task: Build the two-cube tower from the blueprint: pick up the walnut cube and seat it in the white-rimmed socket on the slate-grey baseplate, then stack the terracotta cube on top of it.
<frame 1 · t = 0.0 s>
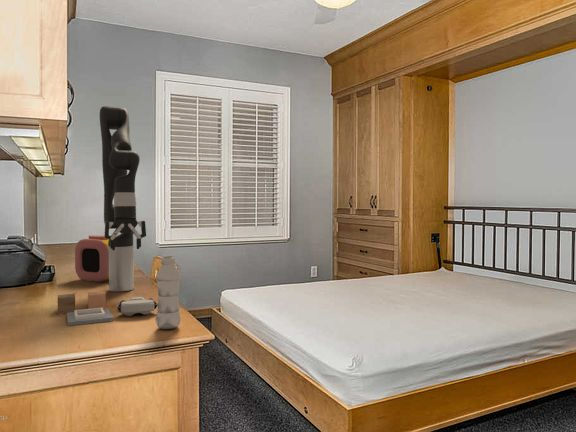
hand: (125, 249, 170), 17 cm above the table, tool pointing down, fingers open, 8 cm apart
plastic bottle: (168, 329, 129), on the table
baseplate: (89, 318, 139), on the table
robot toy: (137, 313, 147), on the table
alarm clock: (99, 280, 204), on the table
terracotta cube: (96, 308, 152), on the table
walnut cube: (66, 311, 148), on the table
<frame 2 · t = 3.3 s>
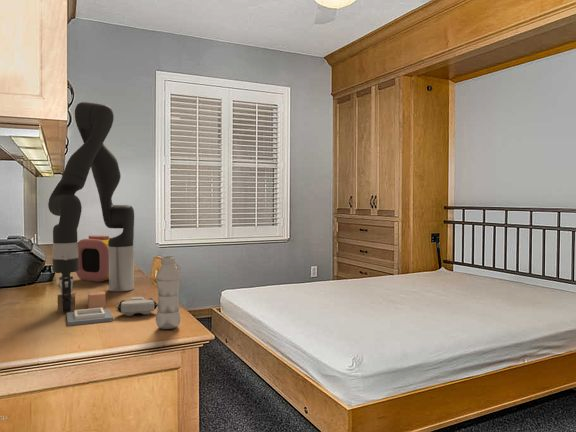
hand: (66, 309, 148), 0 cm above the table, tool pointing down, fingers closed on walnut cube, 5 cm apart
walnut cube: (66, 311, 148), on the table, touching gripper
everything else where it was.
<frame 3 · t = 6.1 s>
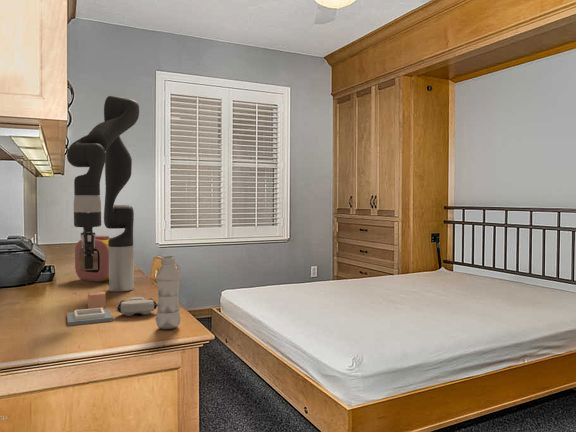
hand: (88, 267, 139), 15 cm above the table, tool pointing down, fingers closed on walnut cube, 5 cm apart
walnut cube: (88, 269, 139), point 15 cm above the table, touching gripper
everything else where it was.
when the fingers open (3 cm above the table, at t = 8.9 s): walnut cube drops 1 cm, resting on baseplate.
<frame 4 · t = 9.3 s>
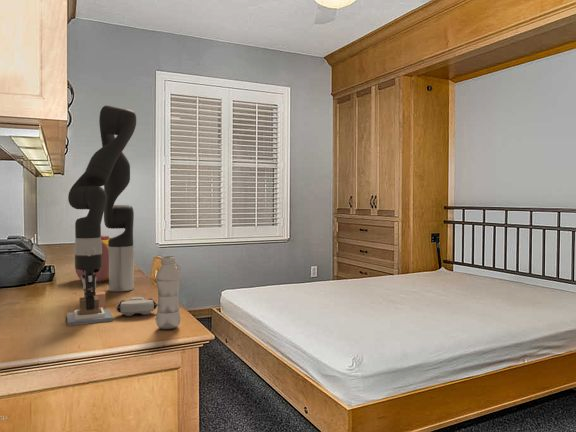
hand: (89, 306, 139), 4 cm above the table, tool pointing down, fingers open, 8 cm apart
walnut cube: (89, 315, 139), point 1 cm above the table, touching baseplate
everything else where it was.
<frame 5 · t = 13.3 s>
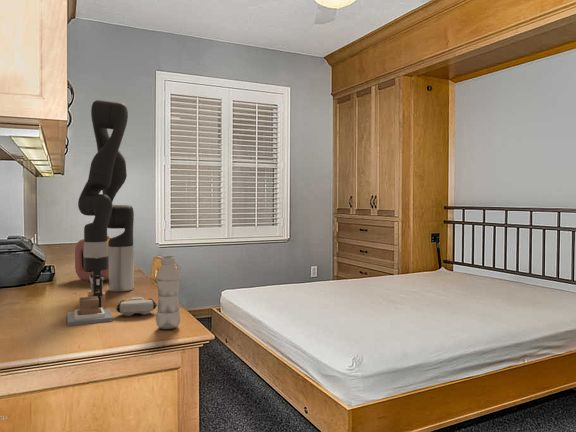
hand: (96, 306, 152), 0 cm above the table, tool pointing down, fingers closed on terracotta cube, 5 cm apart
terracotta cube: (96, 308, 152), on the table, touching gripper
everything else where it was.
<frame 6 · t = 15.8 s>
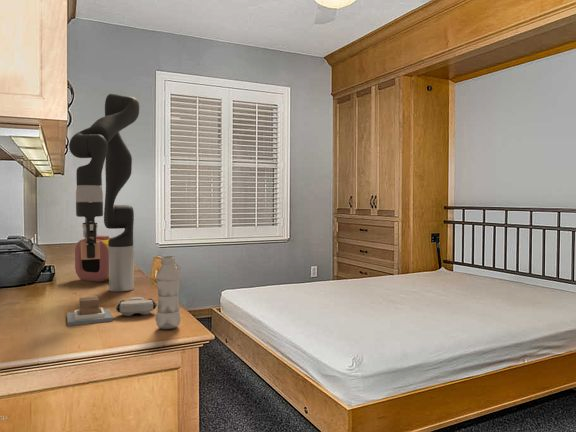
hand: (90, 256, 140), 18 cm above the table, tool pointing down, fingers closed on terracotta cube, 5 cm apart
terracotta cube: (90, 258, 140), point 18 cm above the table, touching gripper
everything else where it was.
when the fingers open (8 cm above the table, at t = 18.7 s): terracotta cube drops 1 cm, resting on walnut cube.
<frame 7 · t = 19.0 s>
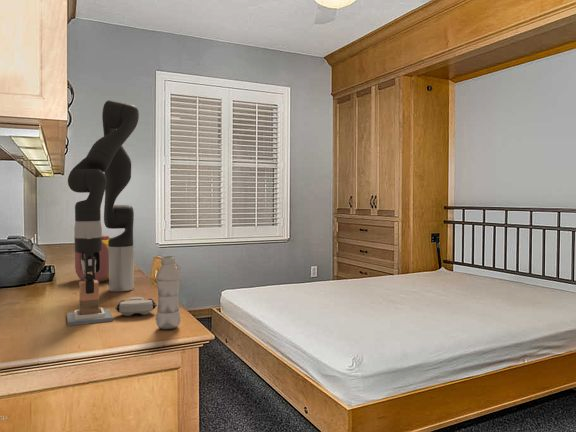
hand: (89, 290, 139), 8 cm above the table, tool pointing down, fingers open, 7 cm apart
terracotta cube: (89, 298, 139), point 6 cm above the table, touching walnut cube
walnut cube: (89, 315, 139), point 1 cm above the table, touching baseplate, terracotta cube
everything else where it was.
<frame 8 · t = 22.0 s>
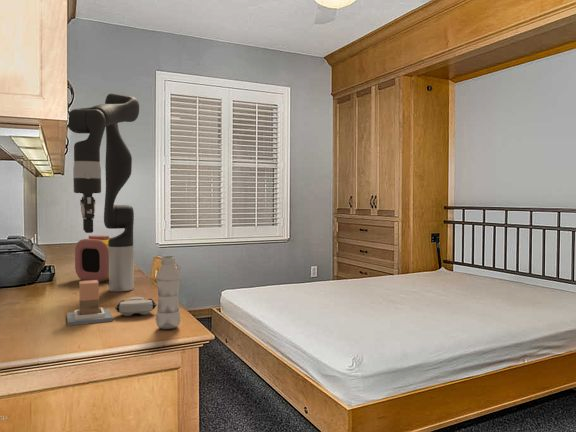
hand: (88, 231, 138), 26 cm above the table, tool pointing down, fingers open, 8 cm apart
nothing on the table moved.
at the end: walnut cube 0.0 cm off-centre on the baseplate, point 1.0 cm above the baseplate's base; terracotta cube 0.1 cm off-centre on the walnut cube, point 5.0 cm above the walnut cube's base; terracotta cube tilted 0° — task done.
